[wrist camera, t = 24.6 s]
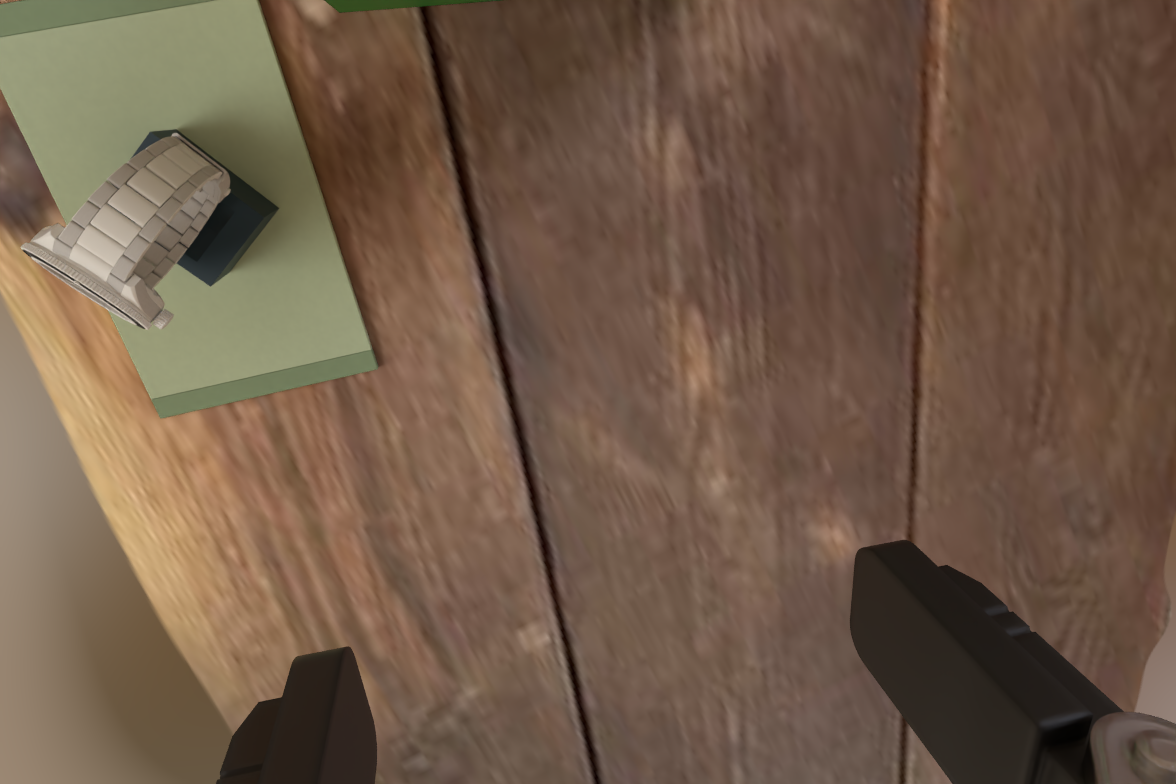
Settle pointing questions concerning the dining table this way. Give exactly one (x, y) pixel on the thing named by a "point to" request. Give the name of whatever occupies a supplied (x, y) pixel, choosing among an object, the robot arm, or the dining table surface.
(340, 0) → the hardback book
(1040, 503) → the dining table surface
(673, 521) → the dining table surface
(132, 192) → the watch
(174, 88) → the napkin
